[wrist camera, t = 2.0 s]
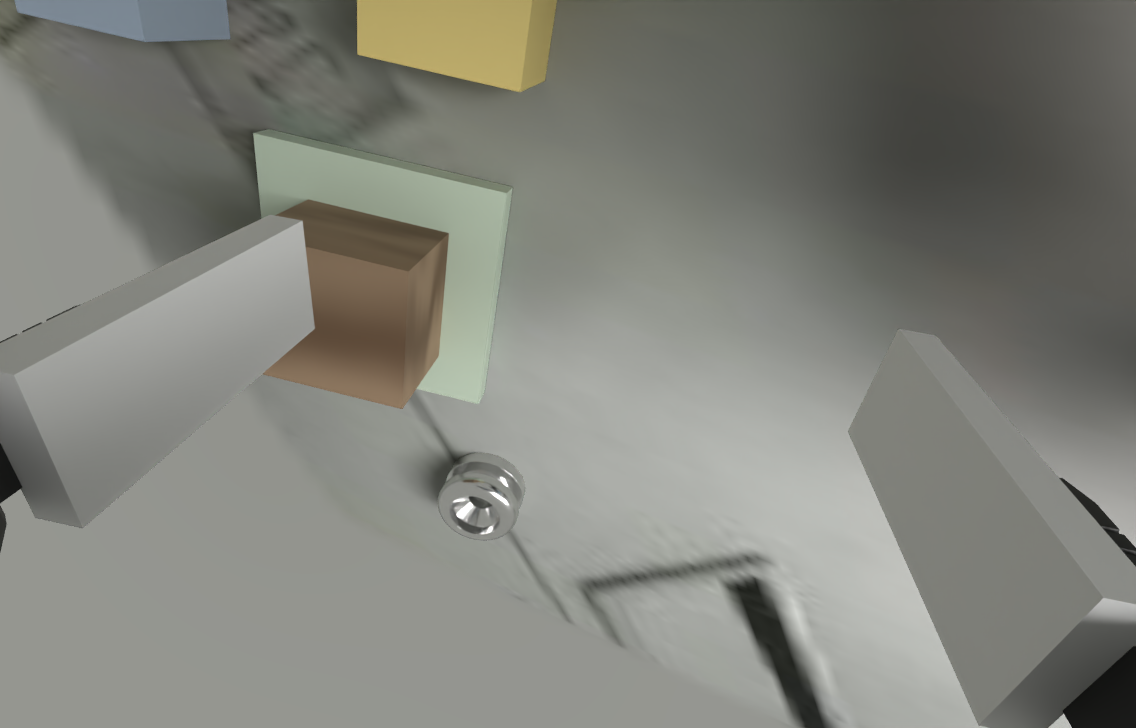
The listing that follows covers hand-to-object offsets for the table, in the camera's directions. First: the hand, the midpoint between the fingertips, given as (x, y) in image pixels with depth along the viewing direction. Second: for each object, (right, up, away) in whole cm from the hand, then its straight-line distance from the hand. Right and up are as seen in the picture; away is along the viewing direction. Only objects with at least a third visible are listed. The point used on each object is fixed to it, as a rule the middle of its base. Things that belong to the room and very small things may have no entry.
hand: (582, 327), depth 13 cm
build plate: (-10, +4, +17) cm, 20 cm away
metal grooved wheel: (-5, -8, +24) cm, 26 cm away
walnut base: (-10, +3, +16) cm, 19 cm away
